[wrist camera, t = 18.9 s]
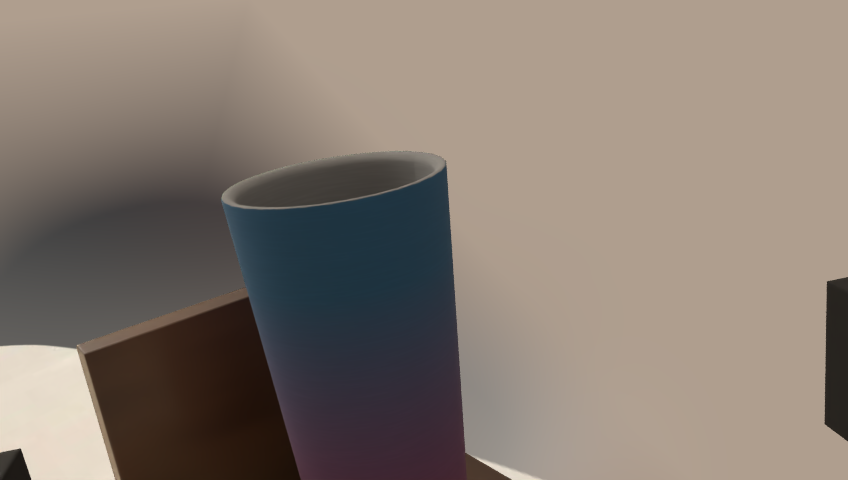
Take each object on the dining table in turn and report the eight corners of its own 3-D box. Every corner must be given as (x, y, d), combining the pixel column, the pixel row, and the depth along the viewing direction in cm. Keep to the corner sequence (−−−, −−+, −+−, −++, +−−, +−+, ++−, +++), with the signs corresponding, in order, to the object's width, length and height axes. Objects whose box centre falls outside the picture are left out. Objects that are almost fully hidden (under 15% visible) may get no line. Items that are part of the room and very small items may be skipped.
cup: (383, 698, 23) (291, 221, 19) (276, 585, 28) (184, 192, 24) (538, 577, 27) (493, 158, 23) (419, 498, 32) (363, 145, 28)
